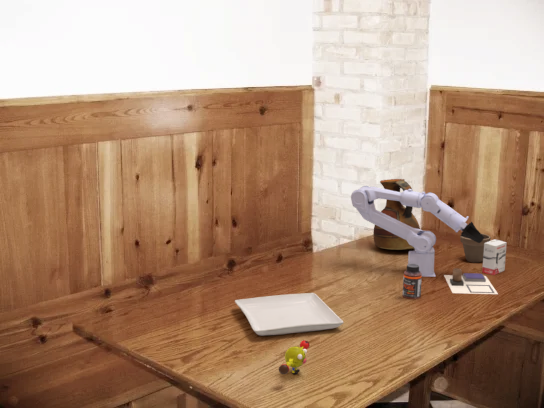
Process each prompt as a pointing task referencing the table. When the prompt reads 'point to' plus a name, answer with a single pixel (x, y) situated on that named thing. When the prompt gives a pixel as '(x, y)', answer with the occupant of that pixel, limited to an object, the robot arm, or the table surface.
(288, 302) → the square plate
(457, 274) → the stamp
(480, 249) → the flower pot
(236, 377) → the table surface
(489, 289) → the board
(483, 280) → the ink pad
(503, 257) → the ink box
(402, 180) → the ceramic pitcher
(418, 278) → the supplement bottle
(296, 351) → the toy figure
